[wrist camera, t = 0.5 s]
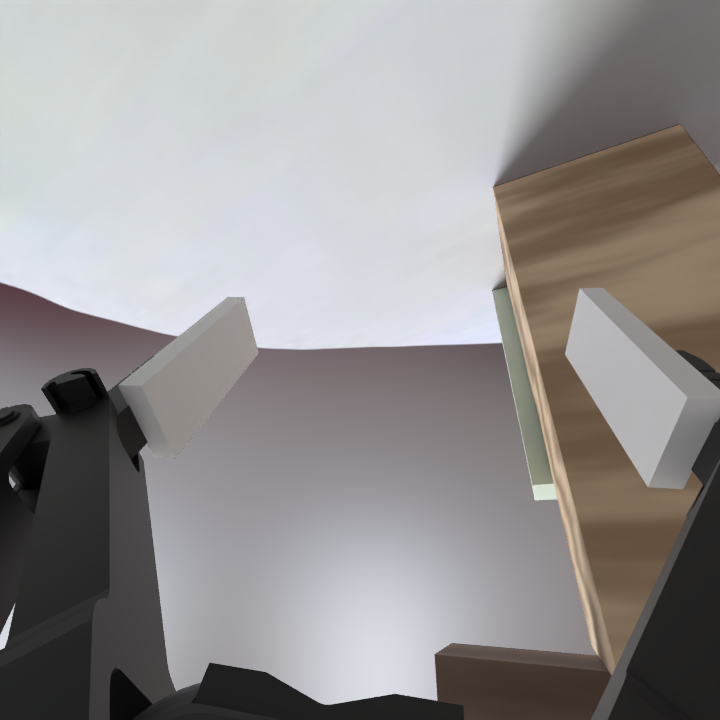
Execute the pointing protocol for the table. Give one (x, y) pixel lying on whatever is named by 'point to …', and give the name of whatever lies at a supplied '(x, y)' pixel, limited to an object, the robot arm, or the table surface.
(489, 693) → the domino case
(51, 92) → the table surface
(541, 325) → the oak stand
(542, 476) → the green pedestal
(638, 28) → the table surface
